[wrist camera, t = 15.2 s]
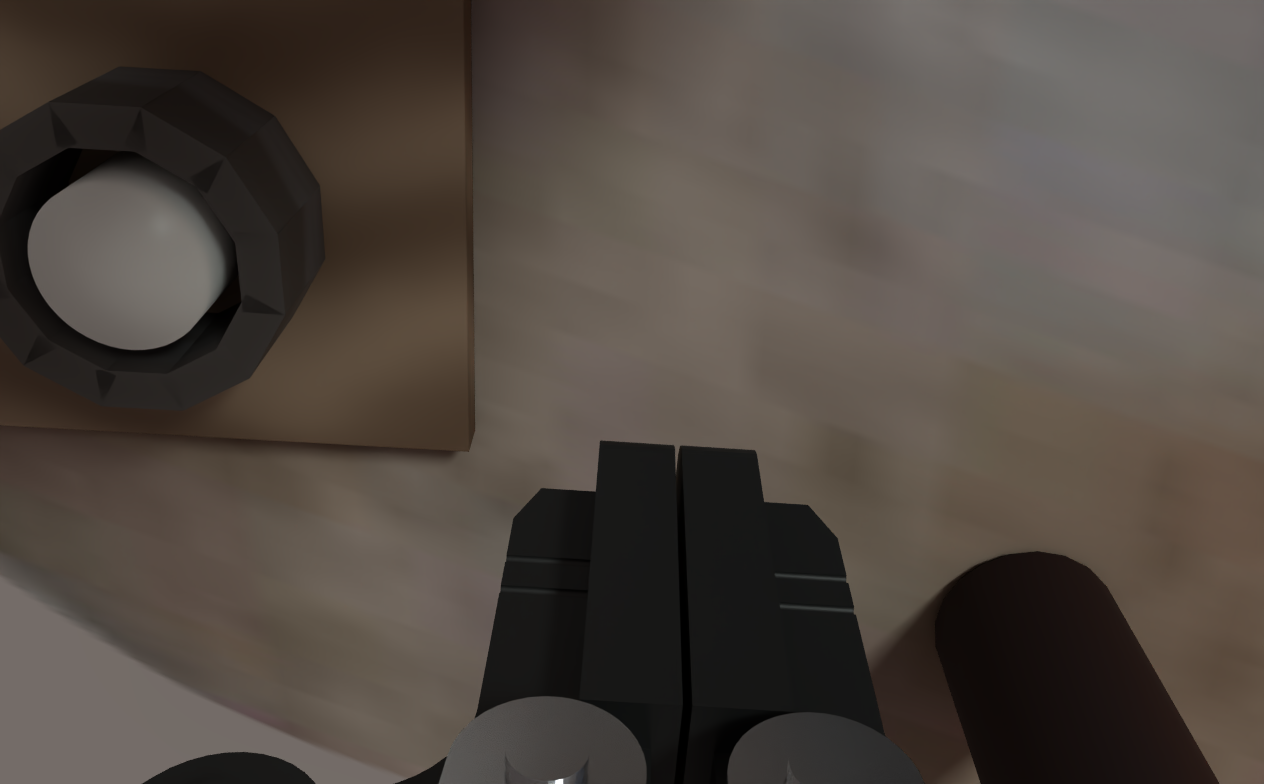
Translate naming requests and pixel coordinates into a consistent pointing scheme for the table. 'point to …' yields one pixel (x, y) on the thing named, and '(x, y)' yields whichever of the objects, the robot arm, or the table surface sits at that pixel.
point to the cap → (130, 254)
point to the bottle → (1057, 681)
